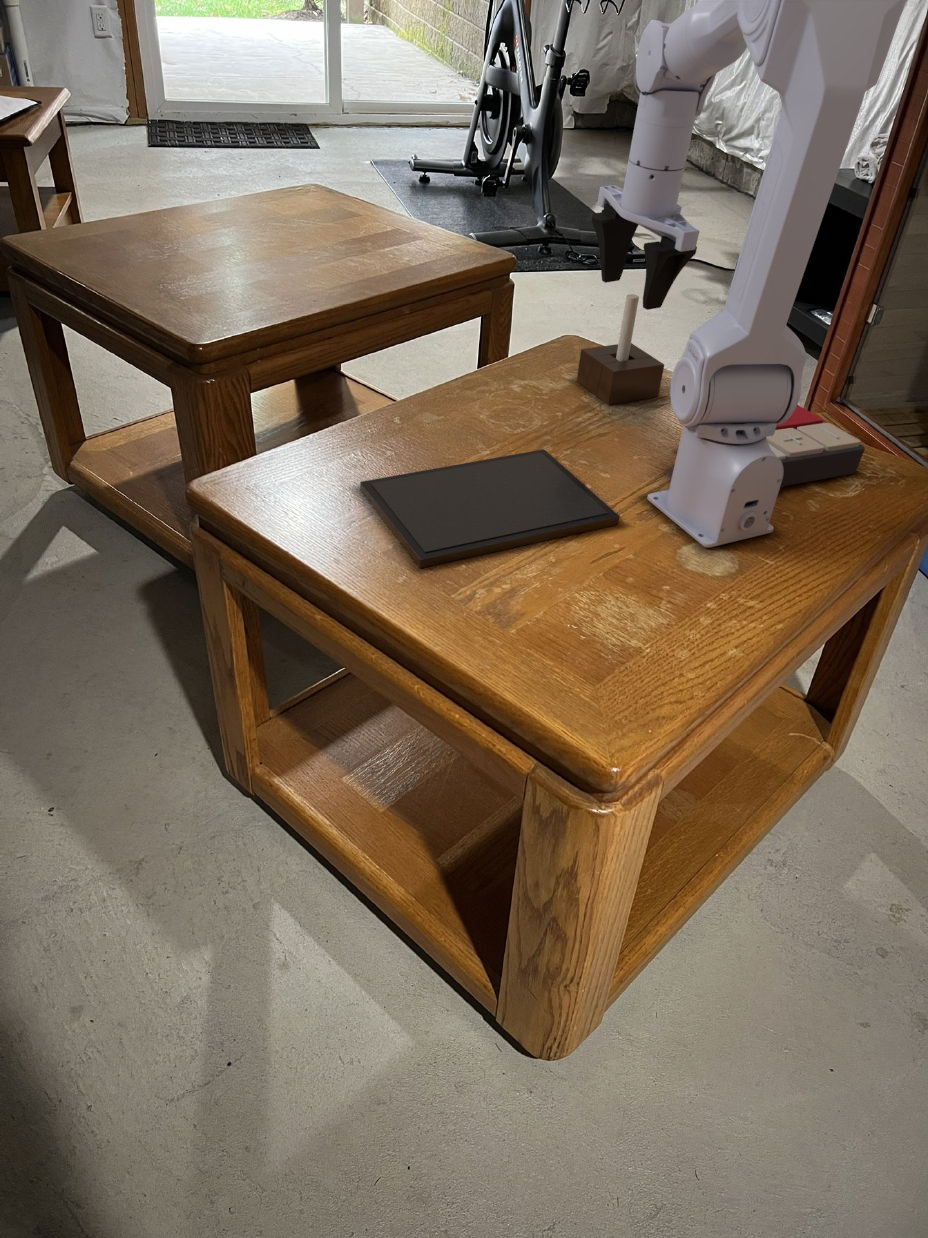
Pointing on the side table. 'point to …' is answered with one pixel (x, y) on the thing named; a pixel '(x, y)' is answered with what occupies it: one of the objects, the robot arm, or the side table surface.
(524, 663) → the side table surface
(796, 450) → the grey box with panels
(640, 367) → the pen stand
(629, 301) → the stylus
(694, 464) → the robot arm
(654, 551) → the side table surface
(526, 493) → the tablet
